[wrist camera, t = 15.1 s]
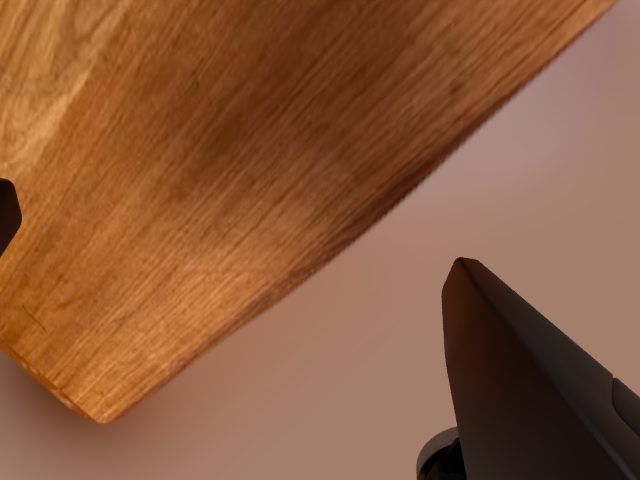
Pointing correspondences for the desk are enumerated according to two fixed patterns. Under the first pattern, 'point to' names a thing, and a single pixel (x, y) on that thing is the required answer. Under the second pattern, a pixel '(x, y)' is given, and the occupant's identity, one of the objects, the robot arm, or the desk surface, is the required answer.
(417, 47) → the desk surface
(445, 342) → the robot arm
